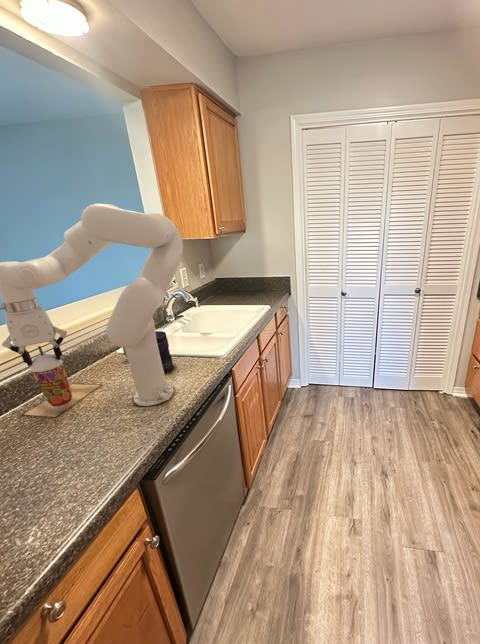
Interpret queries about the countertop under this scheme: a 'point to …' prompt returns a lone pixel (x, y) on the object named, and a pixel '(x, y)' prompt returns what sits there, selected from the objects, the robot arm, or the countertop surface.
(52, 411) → the board
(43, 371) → the smoothie
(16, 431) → the countertop surface
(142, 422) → the countertop surface
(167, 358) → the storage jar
